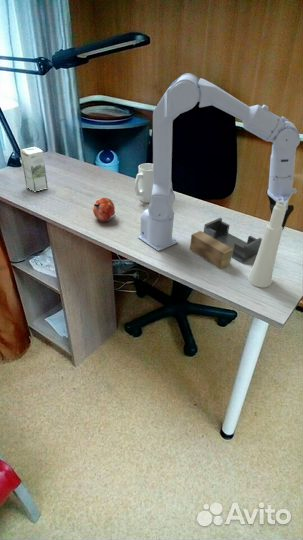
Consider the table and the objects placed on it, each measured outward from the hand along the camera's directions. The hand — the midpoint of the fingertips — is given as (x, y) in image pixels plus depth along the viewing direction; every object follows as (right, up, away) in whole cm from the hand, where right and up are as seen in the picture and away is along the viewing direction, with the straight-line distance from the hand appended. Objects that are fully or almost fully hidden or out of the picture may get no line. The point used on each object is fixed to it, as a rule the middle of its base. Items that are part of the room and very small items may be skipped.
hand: (277, 222), depth 95 cm
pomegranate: (-49, +4, +20) cm, 53 cm away
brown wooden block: (-18, -9, +4) cm, 20 cm away
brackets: (-11, -6, +9) cm, 15 cm away
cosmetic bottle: (-6, -16, -4) cm, 17 cm away
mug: (-37, +12, +32) cm, 50 cm away
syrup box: (-77, +17, +36) cm, 86 cm away
